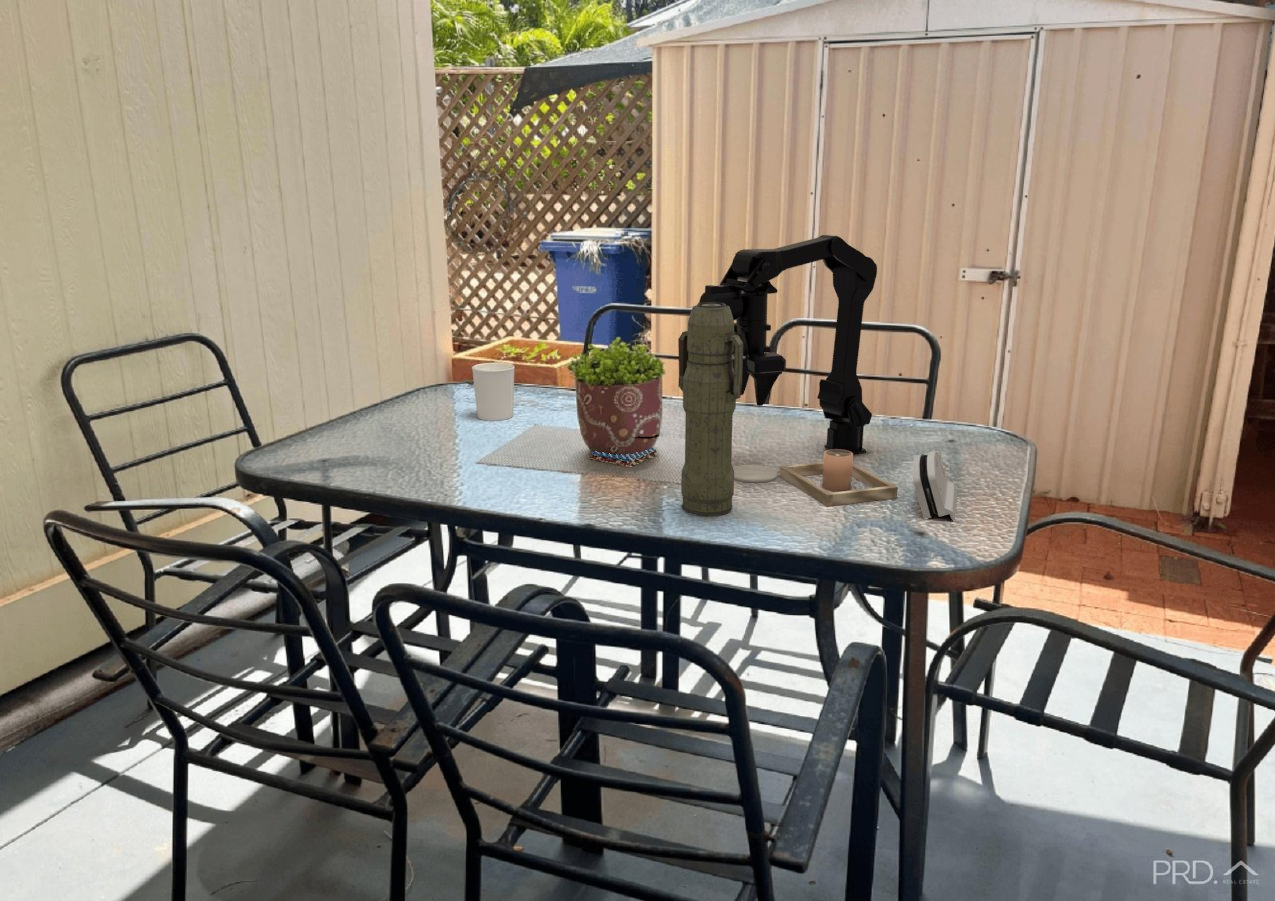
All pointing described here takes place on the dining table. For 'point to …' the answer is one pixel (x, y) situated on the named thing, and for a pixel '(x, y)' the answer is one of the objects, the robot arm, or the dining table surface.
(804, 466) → the wooden frame
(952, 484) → the light grey slab casing
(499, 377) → the light grey cup
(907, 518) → the dining table surface
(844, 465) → the terracotta pot
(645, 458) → the woven mat
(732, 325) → the thermos
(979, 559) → the dining table surface
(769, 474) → the cream saucer
